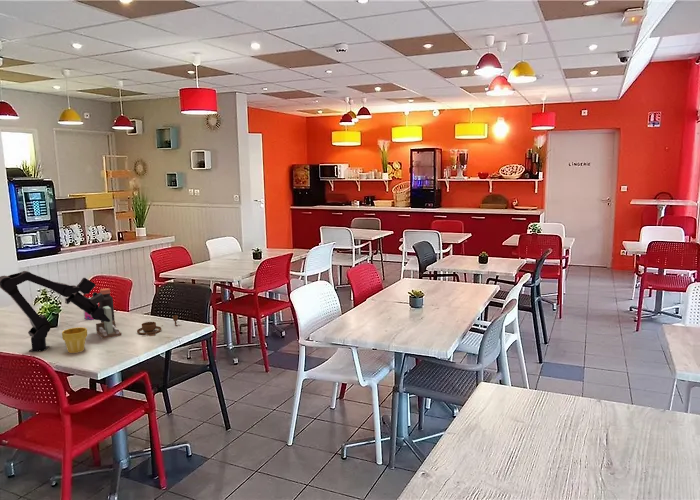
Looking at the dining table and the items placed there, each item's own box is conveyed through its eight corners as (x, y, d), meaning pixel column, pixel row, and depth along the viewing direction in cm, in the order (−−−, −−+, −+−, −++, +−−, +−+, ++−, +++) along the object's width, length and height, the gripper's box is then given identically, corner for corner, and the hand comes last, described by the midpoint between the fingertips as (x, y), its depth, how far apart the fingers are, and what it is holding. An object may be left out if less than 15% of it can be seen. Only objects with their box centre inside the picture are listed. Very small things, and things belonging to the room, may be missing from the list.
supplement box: (83, 319, 294) (81, 299, 292) (91, 316, 299) (90, 297, 298) (92, 320, 292) (90, 300, 290) (99, 317, 298) (98, 297, 296)
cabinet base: (121, 335, 264) (120, 325, 263) (102, 338, 259) (101, 329, 258) (115, 329, 274) (114, 320, 273) (96, 333, 268) (95, 323, 267)
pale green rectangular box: (113, 333, 264) (111, 308, 262) (108, 334, 262) (105, 309, 260) (110, 330, 268) (108, 306, 266) (105, 331, 267) (102, 306, 265)
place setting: (139, 328, 277) (138, 317, 276) (178, 325, 282) (178, 314, 281) (134, 338, 260) (134, 327, 259) (176, 334, 265) (176, 323, 264)
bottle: (100, 325, 282) (96, 289, 279) (113, 322, 286) (110, 287, 283) (102, 327, 277) (99, 291, 274) (116, 325, 281) (113, 289, 278)
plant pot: (92, 350, 242) (90, 329, 241) (69, 356, 235) (66, 335, 233) (83, 345, 249) (81, 325, 248) (60, 351, 242) (58, 330, 240)
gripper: (97, 291, 251) (123, 310, 259) (89, 285, 266) (113, 303, 274) (81, 310, 247) (107, 328, 256) (73, 303, 262) (98, 320, 270)
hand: (107, 319), depth 264 cm, fingers open, 9 cm apart
